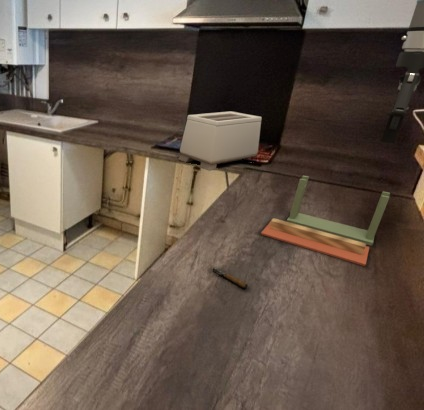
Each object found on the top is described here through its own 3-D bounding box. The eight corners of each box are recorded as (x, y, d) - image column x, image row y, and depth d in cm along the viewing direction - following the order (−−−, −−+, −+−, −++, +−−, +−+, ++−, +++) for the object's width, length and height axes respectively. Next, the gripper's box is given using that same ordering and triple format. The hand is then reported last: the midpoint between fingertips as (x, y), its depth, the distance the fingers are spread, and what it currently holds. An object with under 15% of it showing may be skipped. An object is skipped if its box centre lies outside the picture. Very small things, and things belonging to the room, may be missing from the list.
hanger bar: (363, 251, 92) (366, 243, 91) (362, 255, 90) (365, 247, 89) (271, 225, 105) (273, 217, 104) (269, 228, 103) (271, 220, 102)
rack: (374, 235, 101) (391, 191, 96) (371, 246, 96) (390, 199, 90) (292, 214, 114) (303, 173, 108) (286, 222, 108) (297, 180, 102)
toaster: (260, 160, 168) (270, 116, 160) (209, 170, 153) (217, 122, 144) (227, 151, 184) (235, 110, 175) (177, 159, 168) (183, 114, 160)
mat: (368, 249, 94) (369, 247, 94) (364, 266, 86) (365, 264, 86) (271, 221, 108) (271, 219, 108) (260, 234, 100) (261, 232, 100)
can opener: (247, 288, 77) (248, 283, 77) (240, 291, 76) (241, 286, 76) (215, 267, 85) (216, 263, 84) (208, 270, 84) (209, 265, 83)
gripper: (401, 51, 98) (374, 128, 106) (399, 50, 80) (367, 143, 89) (438, 51, 93) (407, 132, 102) (444, 51, 76) (406, 148, 84)
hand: (388, 137), depth 95 cm, fingers open, 13 cm apart
